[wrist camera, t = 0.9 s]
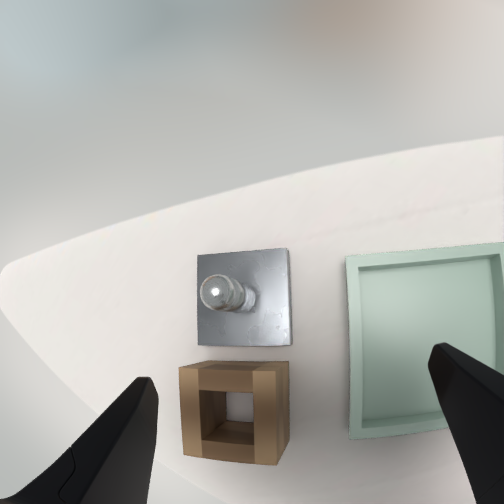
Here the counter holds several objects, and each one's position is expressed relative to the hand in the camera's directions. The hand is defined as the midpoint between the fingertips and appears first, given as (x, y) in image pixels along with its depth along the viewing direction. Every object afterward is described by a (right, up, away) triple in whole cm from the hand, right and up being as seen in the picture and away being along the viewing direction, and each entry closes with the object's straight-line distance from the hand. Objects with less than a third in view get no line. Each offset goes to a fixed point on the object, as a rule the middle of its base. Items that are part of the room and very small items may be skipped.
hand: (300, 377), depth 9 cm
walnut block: (-2, -8, +14) cm, 16 cm away
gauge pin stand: (-2, 0, +16) cm, 16 cm away
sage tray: (+12, -3, +11) cm, 17 cm away
